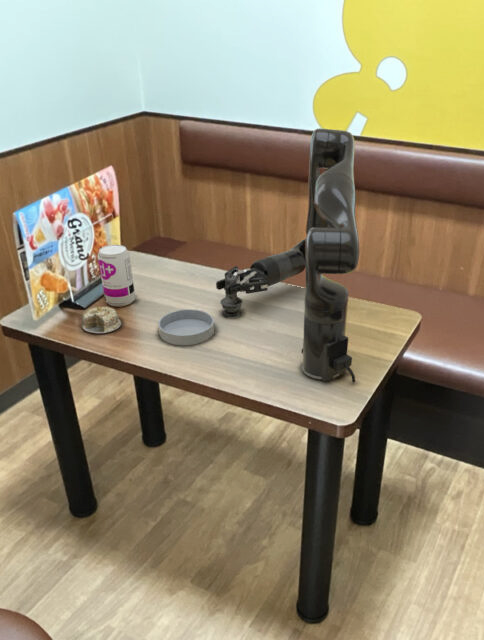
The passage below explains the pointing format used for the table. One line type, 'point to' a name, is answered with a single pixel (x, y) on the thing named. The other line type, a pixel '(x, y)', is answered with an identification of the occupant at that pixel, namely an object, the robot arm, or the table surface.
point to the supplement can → (116, 275)
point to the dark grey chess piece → (231, 300)
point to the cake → (100, 320)
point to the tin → (186, 327)
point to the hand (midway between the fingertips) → (222, 288)
